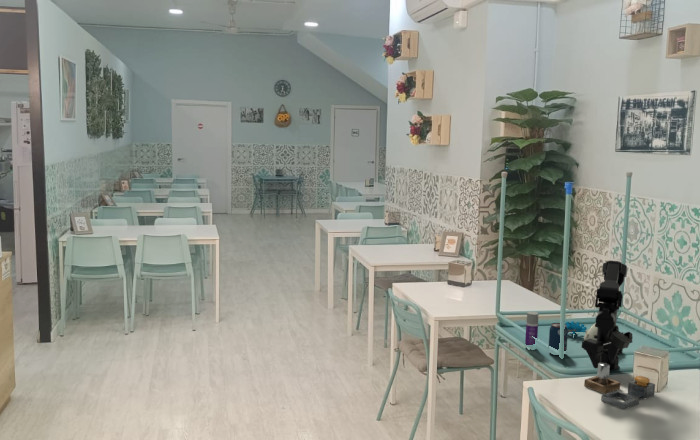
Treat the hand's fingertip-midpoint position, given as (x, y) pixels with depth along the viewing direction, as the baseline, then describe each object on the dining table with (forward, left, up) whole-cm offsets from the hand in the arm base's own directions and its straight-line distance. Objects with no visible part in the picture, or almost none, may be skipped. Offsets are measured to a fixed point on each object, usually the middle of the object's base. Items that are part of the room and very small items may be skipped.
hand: (603, 365), depth 233 cm
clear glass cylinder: (0, 0, -7) cm, 7 cm away
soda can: (-31, +15, -8) cm, 36 cm away
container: (-41, +11, -8) cm, 43 cm away
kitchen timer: (-25, +35, -8) cm, 44 cm away
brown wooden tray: (0, 0, -8) cm, 8 cm away
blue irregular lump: (-43, +40, -8) cm, 59 cm away
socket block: (+11, 0, -8) cm, 14 cm away
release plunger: (+11, +6, -6) cm, 14 cm away
